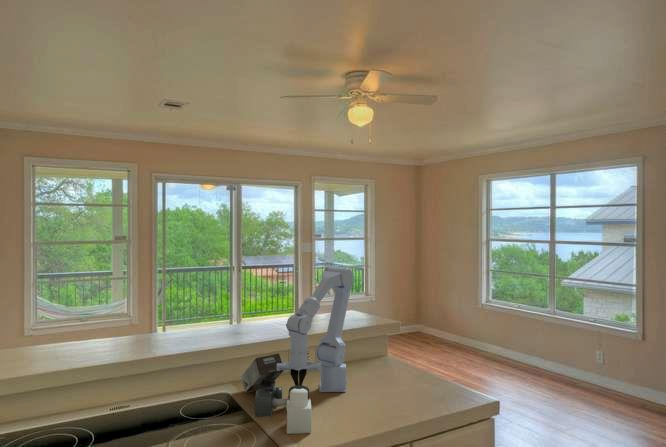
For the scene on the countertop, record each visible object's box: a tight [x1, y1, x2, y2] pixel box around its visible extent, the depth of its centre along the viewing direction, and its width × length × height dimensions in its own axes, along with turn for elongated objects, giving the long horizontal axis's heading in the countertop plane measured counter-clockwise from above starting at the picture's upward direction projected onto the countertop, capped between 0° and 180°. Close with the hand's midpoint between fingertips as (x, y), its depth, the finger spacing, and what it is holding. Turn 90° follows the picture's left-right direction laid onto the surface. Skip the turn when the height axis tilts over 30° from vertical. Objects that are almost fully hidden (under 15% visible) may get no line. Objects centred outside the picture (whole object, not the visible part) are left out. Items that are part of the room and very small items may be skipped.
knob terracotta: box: [272, 394, 289, 407], centre depth 144 cm, size 9×4×4 cm, turn 92°
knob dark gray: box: [255, 386, 283, 399], centre depth 151 cm, size 9×4×4 cm, turn 92°
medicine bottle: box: [285, 384, 312, 435], centre depth 132 cm, size 7×7×12 cm
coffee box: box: [240, 353, 285, 394], centre depth 158 cm, size 9×6×16 cm
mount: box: [254, 380, 277, 418], centre depth 147 cm, size 5×14×6 cm, turn 2°
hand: (298, 391), depth 151 cm, fingers closed
